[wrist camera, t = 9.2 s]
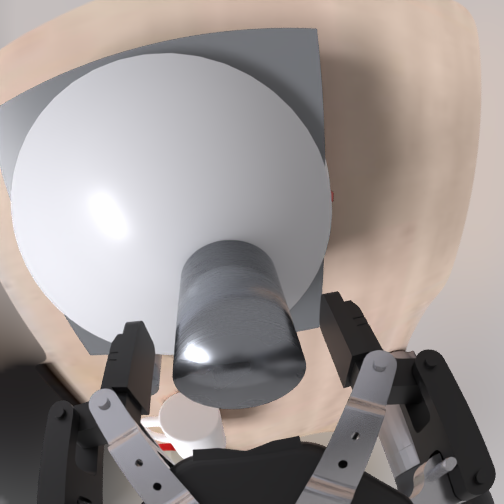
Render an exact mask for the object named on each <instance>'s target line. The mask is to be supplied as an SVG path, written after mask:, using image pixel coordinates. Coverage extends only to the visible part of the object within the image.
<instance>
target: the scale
mask: <svg viewBox="0 0 504 504" xmlns="http://www.w3.org/2000/svg"><path fill="white" fill-rule="evenodd" d="M0 168H1V172H2V175H3V178H4V182H5V185H6V188H7V191H8V194H9V197H10V200H11V214H12V221H13V228H14V233H15V236H16V240H17V244H18V247H19V250H20V252H21V255H22V257H23V260H24V262H25V264H26V266H27V268H28V270H29V272H30V273H31V275H32V277H33V279H34V280H35V282H36V283H37V285H38V286H39V287H40V289H41V290H42V291H43V293H44V294H45V295H46V296H47V297H48V299H49V300H50V301H51V302H52V303H53V304H54V305H55V306H56V307H57V308H58V309H59V310H60V311H61V312H62V313H63V314H64V315H65V317H66V319H67V320H68V322H69V323H70V325H71V327H72V328H73V330H74V331H75V333H76V335H77V336H78V338H79V339H80V341H81V342H82V344H83V345H84V347H85V348H86V350H87V351H88V352H89V354H90V355H109V354H110V353H109V351H110V347H111V343H112V342H113V340H114V339H115V337H116V336H117V334H123V330H124V326H125V323H126V322H132V321H143V322H144V324H145V326H146V328H147V331H148V333H149V335H150V337H151V339H152V341H153V343H154V347H155V354H162V355H174V346H175V333H176V321H177V310H178V299H179V290H180V280H181V273H182V269H183V267H184V265H185V263H186V261H187V260H188V259H189V257H190V256H191V255H192V254H193V253H194V252H196V251H197V250H198V249H200V248H201V247H203V246H205V245H207V244H210V243H213V242H217V241H222V240H239V241H244V242H248V243H251V244H253V245H255V246H257V247H259V248H260V249H262V250H263V251H264V252H265V253H266V254H267V255H268V256H269V257H270V258H271V260H272V262H273V263H274V266H275V269H276V272H277V275H278V278H279V281H280V284H281V287H282V290H283V293H284V296H285V299H286V302H287V305H288V308H289V311H290V314H291V318H292V321H293V324H294V327H295V330H296V332H298V331H303V330H308V329H313V328H318V327H320V323H319V315H320V301H321V295H322V285H323V266H324V255H325V253H326V249H327V245H328V241H329V237H330V230H331V221H332V202H333V192H332V191H331V190H330V180H329V173H328V167H327V163H326V159H325V137H324V112H323V94H322V80H321V67H320V55H319V45H318V35H317V29H311V28H266V29H247V30H235V31H225V32H216V33H209V34H202V35H195V36H189V37H184V38H178V39H173V40H168V41H164V42H159V43H155V44H151V45H147V46H143V47H139V48H135V49H131V50H128V51H125V52H121V53H118V54H115V55H111V56H108V57H105V58H102V59H99V60H97V61H94V62H91V63H88V64H86V65H83V66H80V67H78V68H75V69H73V70H70V71H68V72H65V73H63V74H61V75H58V76H56V77H54V78H52V79H50V80H47V81H45V82H43V83H41V84H39V85H37V86H35V87H33V88H31V89H29V90H27V91H25V92H23V93H21V94H20V95H18V96H16V97H14V98H12V99H11V100H9V101H7V102H5V103H4V104H2V105H0Z"/></svg>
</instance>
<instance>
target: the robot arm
mask: <svg viewBox="0 0 504 504" xmlns="http://www.w3.org/2000/svg"><path fill="white" fill-rule="evenodd" d="M319 323H320V328H321V331H322V334H323V337H324V339H325V342H326V344H327V347H328V349H329V352H330V354H331V357H332V359H333V362H334V364H335V367H336V370H337V372H338V375H339V377H340V380H341V383H342V385H343V388H346V387H349V386H351V388H352V393H351V395H350V397H349V399H348V401H347V404H346V406H345V408H344V411H343V413H342V415H341V418H340V420H339V422H338V424H337V426H336V429H335V431H334V433H333V435H332V437H331V439H330V442H329V444H328V446H327V447H325V446H322V445H320V444H316V443H312V442H301V441H300V437H299V436H296V437H291V438H286V439H281V440H275V441H271V442H269V443H267V444H264V445H262V446H259V447H256V448H254V449H251V450H248V451H239V450H231V449H223V448H210V449H193V456H190V457H187V458H185V459H183V460H181V461H179V462H178V463H177V464H175V463H174V462H173V461H172V460H171V459H170V458H169V457H168V456H167V455H166V454H165V453H164V451H163V450H162V449H161V448H160V447H159V445H158V444H157V443H156V442H155V440H154V439H153V438H152V436H151V435H150V434H149V432H148V431H147V430H146V428H145V427H144V426H143V424H142V423H141V415H149V412H150V400H151V389H152V379H153V370H154V361H155V347H154V343H153V341H152V339H151V337H150V335H149V333H148V331H147V328H146V326H145V324H144V322H143V321H132V322H126V323H125V326H124V330H123V334H117V336H116V337H115V339H114V340H113V342H112V343H111V347H110V351H109V353H110V354H109V355H108V359H107V360H108V361H107V363H106V367H105V372H104V376H103V380H102V385H101V389H100V390H98V391H96V392H95V393H94V394H93V395H92V396H91V398H90V400H89V402H86V403H82V404H79V405H75V406H72V405H71V404H70V403H69V402H67V401H63V400H62V401H58V402H56V403H55V404H54V405H53V406H52V407H51V408H50V410H49V414H48V419H47V424H46V430H45V435H44V441H43V447H42V454H41V462H40V472H39V481H38V495H37V504H103V501H102V500H103V497H102V487H103V485H102V484H103V481H102V480H103V479H102V478H103V453H104V444H109V446H108V450H109V451H110V453H111V455H112V457H113V458H114V460H115V461H116V463H117V464H118V466H119V467H120V469H121V471H122V472H123V473H124V475H125V476H126V478H127V479H128V481H129V482H130V483H131V485H132V486H133V487H134V489H135V490H136V492H137V493H138V494H139V496H140V497H141V498H142V500H143V502H142V504H494V501H493V498H492V496H491V493H490V492H489V489H490V488H491V486H492V485H493V483H494V480H495V475H496V473H495V468H494V465H493V463H492V460H491V458H490V455H489V452H488V450H487V447H486V445H485V442H484V440H483V438H482V435H481V433H480V431H479V429H478V426H477V424H476V422H475V419H474V417H473V415H472V413H471V411H470V408H469V406H468V404H467V402H466V400H465V398H464V396H463V394H462V392H461V390H460V389H459V386H458V384H457V382H456V380H455V379H454V376H453V374H452V373H451V371H450V369H449V367H448V365H447V363H446V362H445V360H444V358H443V357H442V355H441V354H440V353H438V352H437V351H434V350H424V351H421V352H420V353H419V354H418V355H417V356H416V355H415V353H414V351H411V352H405V351H396V352H392V353H388V352H386V351H383V349H382V348H381V346H380V344H379V342H378V340H377V338H376V337H375V335H374V333H373V331H372V329H371V327H370V326H369V324H368V322H367V320H366V318H365V317H364V315H363V313H362V311H361V310H360V308H359V307H358V306H357V305H356V304H355V303H353V302H352V301H351V300H350V301H345V302H344V301H343V299H342V297H341V295H340V293H339V292H332V293H327V294H322V295H321V301H320V315H319ZM378 436H379V439H380V441H381V444H382V446H383V449H384V452H385V454H386V457H387V460H388V462H389V465H390V468H391V471H392V473H393V476H394V478H395V482H396V484H397V489H398V490H396V489H394V488H392V487H391V486H389V485H387V484H385V483H384V482H382V481H380V480H378V479H377V478H375V477H373V476H371V475H370V474H368V473H367V472H365V471H364V470H365V468H366V465H367V463H368V460H369V458H370V456H371V453H372V450H373V448H374V445H375V442H376V440H377V437H378Z"/></svg>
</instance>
